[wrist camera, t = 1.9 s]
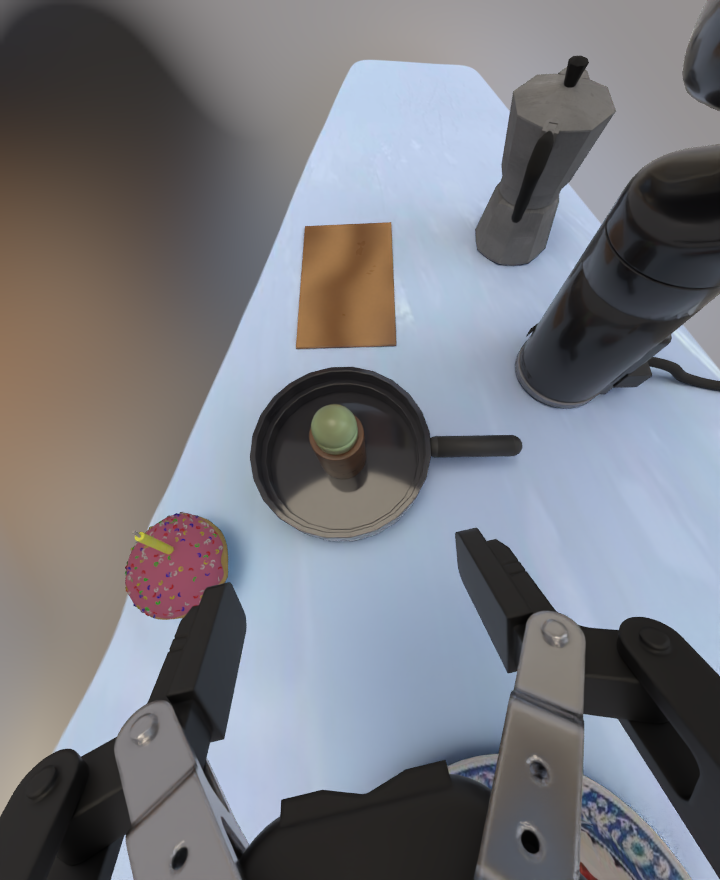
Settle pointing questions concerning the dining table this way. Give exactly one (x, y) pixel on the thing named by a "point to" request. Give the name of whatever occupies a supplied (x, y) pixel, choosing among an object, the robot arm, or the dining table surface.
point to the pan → (301, 474)
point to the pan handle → (475, 446)
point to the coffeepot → (541, 159)
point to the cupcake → (175, 565)
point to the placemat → (347, 287)
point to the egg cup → (338, 441)
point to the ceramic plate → (602, 832)
